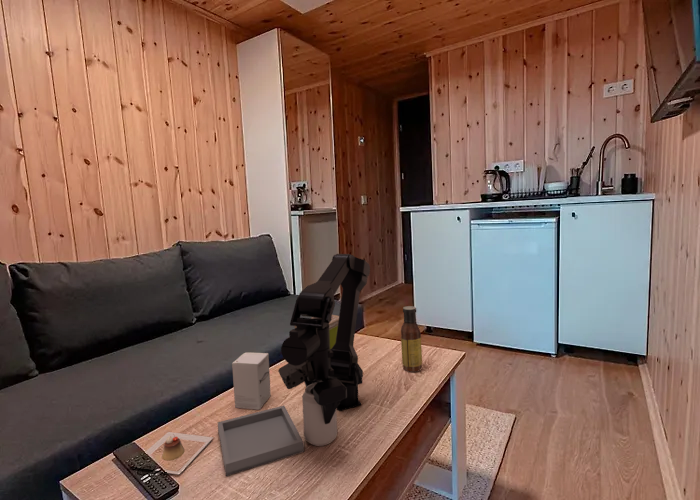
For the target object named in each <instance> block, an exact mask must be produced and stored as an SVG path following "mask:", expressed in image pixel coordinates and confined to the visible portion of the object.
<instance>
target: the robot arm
mask: <svg viewBox="0 0 700 500" xmlns="http://www.w3.org/2000/svg"><path fill="white" fill-rule="evenodd" d="M370 267H371V266H370V264H369V262H367V260H366V259H362V258H358V257H356V256H354V255H353V254H351V253H336V254H333V256H332V259H331V262H330V263H329V265H328V266H327V267H326V268H325V270H324V272H323V273H322V274H321V276H320V277H319V278H318V280H317V281H315V282H314V283H312V284H309V285H307V286H306V287H304V288H303V289H302V290H301V291H300V292H299V294H298V296H297V297H296V300H295V304H294V308H293V311H292V315H291V319H290V322H289V326H291V327H292V326H293V327H294V328H292V329H291V330H289V336H288V337H287V338H285V339H284V340H283V342H282V344H281V347H280V350H281V351H280V352H281V356H282V357H283V359H284V360H285V362H287V363H286V364H285V365H282V366H281V367H280V368H278V371H277V372H278V373H279V376H280V379H281V380H282V382H283V384H284V386H285V387H286V390H287V389H288V390H292V389H294V388H296V387H297V386H299V385H302V384H303V383H304V385H305V388H306V387H307V386H308V385H310V384H313V383H317V382H318V383H317V384H316V385H315V386H314V388H313V394H314V399H315V401H316V402H317V404H319V405H321V409H322V414H323V419H324V423H325V424H329V423H330V421H331V419H332V417H333V415H334V413H335V411H336V412H337V411H339V412H342V411H345V410H348V409H352V408H355V407H356V408H357V407H359V406H361V405H362V402H361V401H360V400H359V385H362V384H363V378H364V370H363V368H362V367H361V365H359V356H358V353H357V351H356V350H355V346H354V342H355V334H356V326H357V317H358V310H359V309H358V308H359V302H360V294H361V292H362V291H363V289H364V288H365V286H366V285H367V282H368V278H369V276H370V274H371V273H370V272H371V268H370ZM340 286H341V289H342V293H341V299H340V307H339V315H338V316H339V321H338V328H337V336H336V343H335V345H334V346H333V347H332V348H331V349H330V334H329V323H330V321H331V320H332V319H331V317H332V315H333V314H334V311H335V310H334V309H335V306H336V302H335V295H336V292H337V291H338V289H339V287H340ZM301 316H302V317H301ZM312 317H314V318H312ZM311 318H312V319H311ZM295 326H296V327H297V328H295Z"/></svg>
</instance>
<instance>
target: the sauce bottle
mask: <svg viewBox="0 0 700 500" xmlns="http://www.w3.org/2000/svg"><path fill="white" fill-rule="evenodd" d="M402 309H403V310H402V312H403V323H402V325H401V328H400V334H401V335H400V336H401V337H400V341H401V363H402V364H401V365H402V368H403V370H404V369H405V371H407V372H409V371H417V372H419V371H421V370H422V369H423V354H422V333H421V331H420V328H419V325H418V322H417V316H416V315H417V314H416V313H417V308H416V306H413V305H412V306H411V305H408V306H403V307H402ZM421 368H422V369H421ZM420 369H421V370H420ZM418 370H419V371H418Z"/></svg>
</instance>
